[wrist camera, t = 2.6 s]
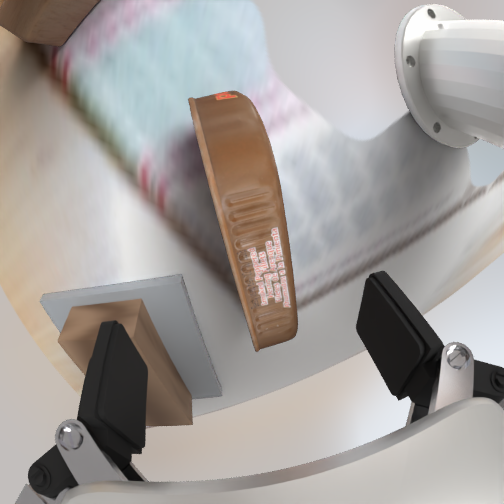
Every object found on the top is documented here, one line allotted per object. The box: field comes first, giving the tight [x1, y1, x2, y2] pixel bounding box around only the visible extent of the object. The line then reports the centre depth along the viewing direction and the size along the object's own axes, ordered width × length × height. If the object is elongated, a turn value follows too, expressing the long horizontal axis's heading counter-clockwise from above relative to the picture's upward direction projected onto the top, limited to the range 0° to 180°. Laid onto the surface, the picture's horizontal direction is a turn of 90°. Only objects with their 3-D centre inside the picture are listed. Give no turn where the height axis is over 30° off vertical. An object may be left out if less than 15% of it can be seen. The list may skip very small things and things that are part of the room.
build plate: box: [40, 274, 222, 399], centre depth 25 cm, size 14×18×1 cm
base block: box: [58, 298, 193, 426], centre depth 23 cm, size 7×16×4 cm, turn 5°
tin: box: [188, 91, 298, 352], centre depth 15 cm, size 15×3×8 cm, turn 10°
